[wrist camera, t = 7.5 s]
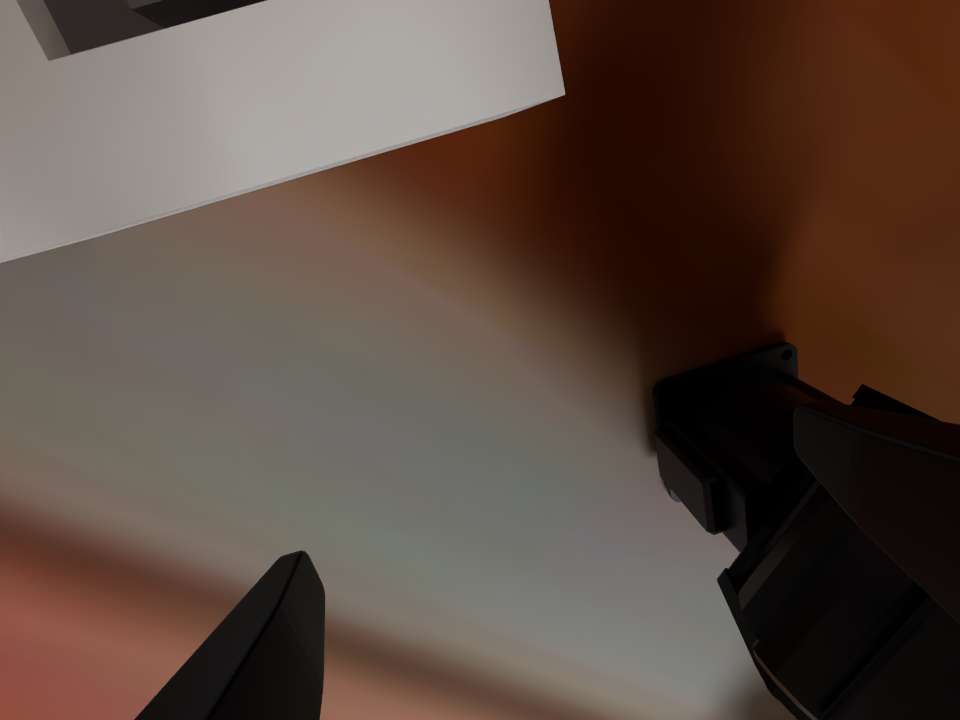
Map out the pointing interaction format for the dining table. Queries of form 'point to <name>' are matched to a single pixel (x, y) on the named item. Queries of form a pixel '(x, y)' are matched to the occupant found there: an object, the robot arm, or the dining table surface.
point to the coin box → (238, 99)
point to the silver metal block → (184, 9)
